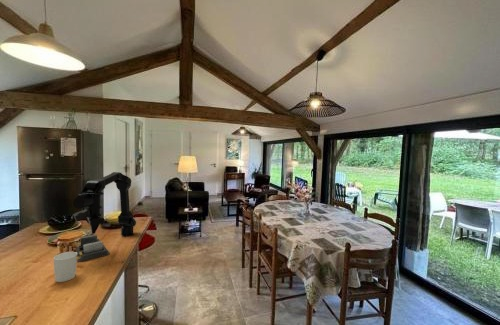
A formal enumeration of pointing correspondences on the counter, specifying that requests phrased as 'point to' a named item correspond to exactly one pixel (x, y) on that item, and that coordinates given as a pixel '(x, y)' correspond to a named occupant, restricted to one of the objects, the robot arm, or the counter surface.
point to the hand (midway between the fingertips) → (93, 233)
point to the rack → (94, 254)
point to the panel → (92, 247)
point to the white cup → (65, 266)
